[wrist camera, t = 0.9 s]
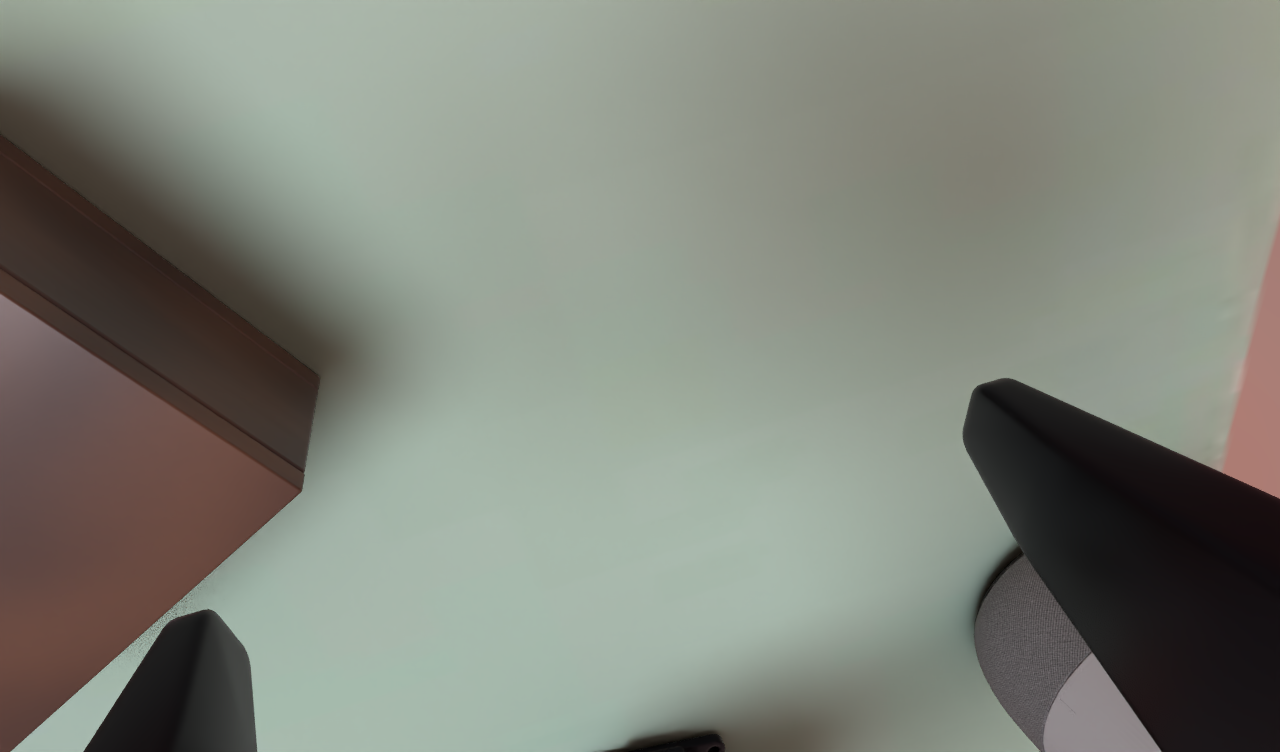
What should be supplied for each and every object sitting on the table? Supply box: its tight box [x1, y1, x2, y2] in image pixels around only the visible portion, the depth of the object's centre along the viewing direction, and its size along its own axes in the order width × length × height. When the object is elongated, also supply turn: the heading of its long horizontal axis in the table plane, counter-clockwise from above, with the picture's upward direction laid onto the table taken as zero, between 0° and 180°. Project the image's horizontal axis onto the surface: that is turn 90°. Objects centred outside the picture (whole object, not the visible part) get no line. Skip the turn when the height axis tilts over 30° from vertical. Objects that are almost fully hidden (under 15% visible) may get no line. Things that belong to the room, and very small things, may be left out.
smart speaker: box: [974, 553, 1161, 752], centre depth 30 cm, size 10×9×14 cm
